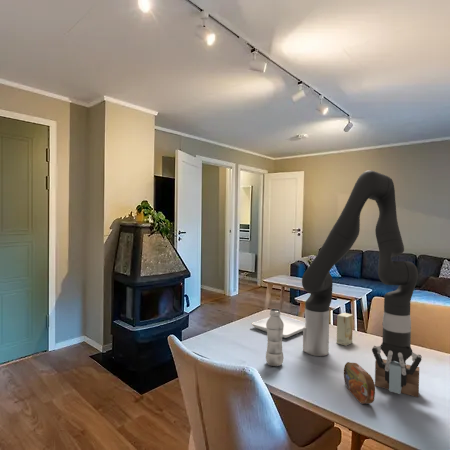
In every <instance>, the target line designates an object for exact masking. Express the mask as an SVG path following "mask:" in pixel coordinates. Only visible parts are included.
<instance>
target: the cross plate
mask: <svg viewBox="0 0 450 450" xmlns="http://www.w3.org/2000/svg"><path fill="white" fill-rule="evenodd" d="M401 373H402V372H401V366H400V363H398V362H396V361H391V364H390V367H389V389H388V391H389V392H391V393H395V394H399V395H401V394H402V393H401V389H402V387H401Z"/></svg>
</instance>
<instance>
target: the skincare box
mask: <svg viewBox="0 0 450 450" xmlns="http://www.w3.org/2000/svg"><path fill="white" fill-rule="evenodd" d="M336 319H337V320H336V344H339V345H342V346H348V345H351V344H353V331H354V330H353V328H354V327H353V326H354V315H353V314H352V313H348V312H342V313H339V314H337V317H336Z"/></svg>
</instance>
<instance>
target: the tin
mask: <svg viewBox="0 0 450 450" xmlns="http://www.w3.org/2000/svg"><path fill="white" fill-rule="evenodd" d="M343 380H344V383H345V387H346V388H347V390H348V391H349V392H350V393H351V394H352V396H353V397H355V399H356V400H357V401H358V402H359V403H360V404H363V405H364V404H372V403H374V401H375V397H376V386H375V380H374V379H373V377H372V376H371V374H370V373H369V372H368V371H366V370H365V369H364V368H363V367H362V366H361V365H360V364H359V363H357V362H350V361H349V362H348V361H347V362H346V363H345V364H344V367H343Z"/></svg>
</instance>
